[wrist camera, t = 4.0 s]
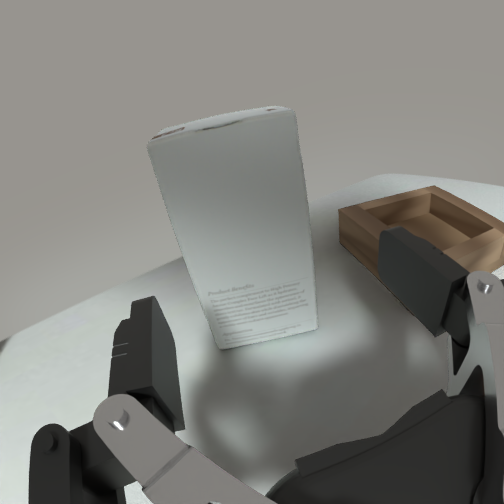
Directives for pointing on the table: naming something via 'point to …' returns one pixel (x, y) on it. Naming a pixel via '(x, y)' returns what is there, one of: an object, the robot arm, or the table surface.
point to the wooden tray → (425, 228)
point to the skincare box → (241, 221)
